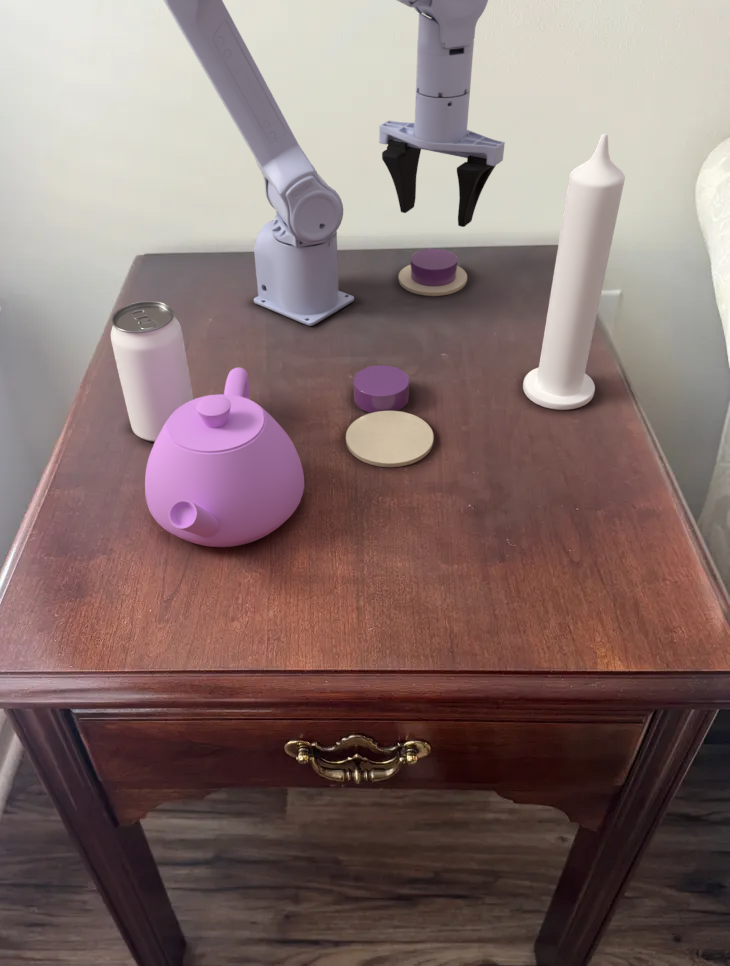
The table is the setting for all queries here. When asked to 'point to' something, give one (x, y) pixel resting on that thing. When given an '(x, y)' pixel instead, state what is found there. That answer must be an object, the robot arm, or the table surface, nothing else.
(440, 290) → the coaster far
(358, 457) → the coaster near
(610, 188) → the candle
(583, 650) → the table surface
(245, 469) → the teapot
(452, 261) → the purple round puck
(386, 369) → the purple puck
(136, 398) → the can
